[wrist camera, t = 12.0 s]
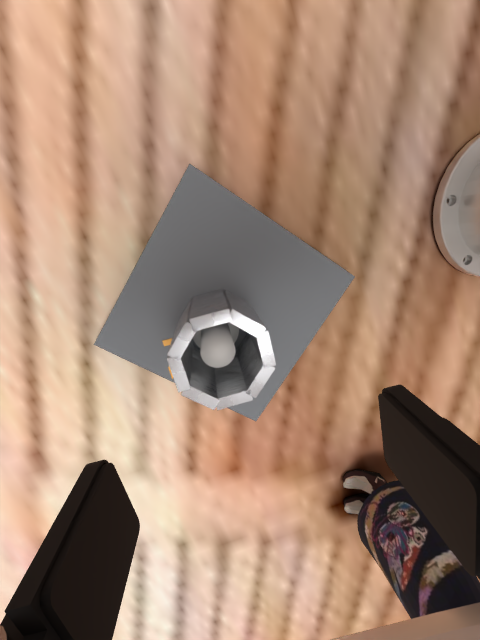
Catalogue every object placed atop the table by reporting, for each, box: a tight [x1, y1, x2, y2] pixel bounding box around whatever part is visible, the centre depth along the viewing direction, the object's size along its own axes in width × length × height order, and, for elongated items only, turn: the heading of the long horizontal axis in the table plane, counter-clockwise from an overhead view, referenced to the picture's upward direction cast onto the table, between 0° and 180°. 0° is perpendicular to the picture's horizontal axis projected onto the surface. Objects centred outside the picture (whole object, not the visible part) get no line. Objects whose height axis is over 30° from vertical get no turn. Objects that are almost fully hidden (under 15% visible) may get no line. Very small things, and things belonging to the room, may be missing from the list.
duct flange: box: [94, 164, 355, 421], centre depth 23 cm, size 16×16×6 cm
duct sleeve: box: [167, 289, 276, 410], centre depth 21 cm, size 7×6×7 cm
